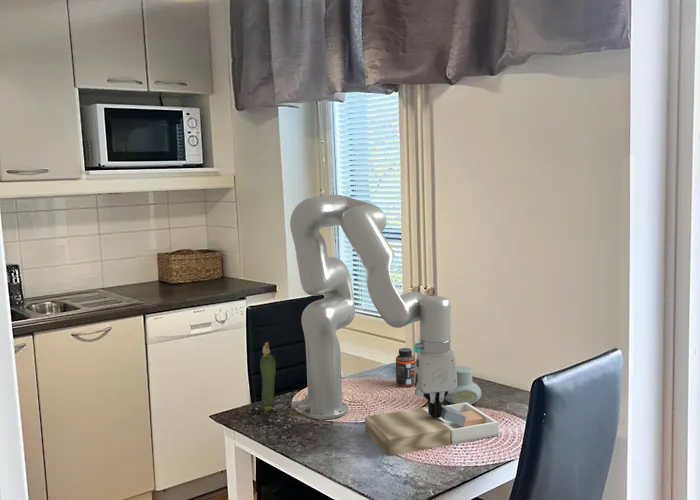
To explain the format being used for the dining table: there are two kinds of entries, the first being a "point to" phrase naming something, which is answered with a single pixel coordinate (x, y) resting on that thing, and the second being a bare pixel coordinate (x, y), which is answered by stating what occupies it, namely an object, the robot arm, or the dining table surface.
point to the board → (407, 431)
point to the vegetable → (267, 377)
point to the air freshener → (464, 388)
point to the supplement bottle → (405, 368)
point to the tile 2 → (472, 419)
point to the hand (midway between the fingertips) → (434, 416)
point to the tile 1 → (452, 415)
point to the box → (470, 432)
